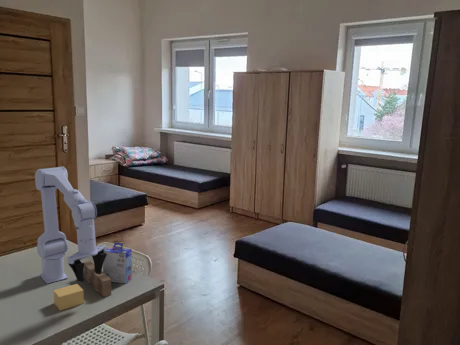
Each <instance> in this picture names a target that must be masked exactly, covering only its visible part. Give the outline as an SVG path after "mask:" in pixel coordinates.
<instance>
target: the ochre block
mask: <svg viewBox="0 0 460 345" xmlns="http://www.w3.org/2000/svg"><path fill="white" fill-rule="evenodd" d="M84 303H85V298H84V289H83V288H82V287H81V285H79V284H78V283H75V284H72V285H68V286H63V287H60V288H57V289H53V304H54V305H55V306H56V307H57V308H58V310H59V311H63V310H66V309H69V308H73V307H77V306H80V305H82V304H84Z"/></svg>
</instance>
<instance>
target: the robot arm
mask: <svg viewBox="0 0 460 345" xmlns="http://www.w3.org/2000/svg"><path fill="white" fill-rule="evenodd" d="M68 178H69V174H68V170H67V168H66V167H64V166H63V165H62V166H57V167H50V168H49V167H48V168H38V169H37V170H36V171H35V173H34V181H35V183H34V184H35V187H36V188H35V189H36V190H37V191H40V196H41V207H42V216H43V226H44V232H43V233H42V234H41V235H39V237H38V238H37V245H36V251H37V254H38V256H39V257H40V258H41V270H42V271H41V273H40V274H39V276H40V278H42V280H43V281H44V282H45V283H46V284H52V283H55V282H58V281H62V280H66V279H68V278H69V277H68V275H67V274H66V273H65V262H64V259H65V258H64V256H65V255H66V253H67V252H68V250H69V243H68V240H67V236H66V234H65V233H64V232H62V231H60V229H59V219H58V209H57V208H58V207H57V199H56V191H57V189H58V190H59V191H60V193H62V194H63V195H64V196H63V201H64V202H65V204H66V205H67V206H68V208H69V209H70V211H71V217H72V219H73V223H74V227H75V228H76V239H77V240H76V241H77V252H75V253H74V254H72V255H71V256H68V257H66V259H67V265H68V266H69V267H70V269H71V270H72V271H73V273H74V276H75V277H76V281H77V283H83V282H84V277H83V268H84V264H85V263H83V262H82V261H81V260H83V259H86V258H90V257H92V262H93V264H94V267H95V273H96V274H101V271H102V272H103V262H104V260H105V258H106V256H107V253H105V252H104V251H106V249H107V245H106V244H105V245H104V244H100V245H97V243H96V242H97V241H96V240H97V239H96V228H95V219H96V218H97V215H98V211H97V210H98V208H97V206H96V204H95V203H94V201H92V200H91V201H90V200H87V199H86V198H85V197H84V195H83V194H82V193H81V192H80V190H78V189H76V188H75V189H74V187H73V186H72V184H71V182H70V181H69V179H68Z"/></svg>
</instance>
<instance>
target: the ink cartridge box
mask: <svg viewBox="0 0 460 345" xmlns="http://www.w3.org/2000/svg"><path fill="white" fill-rule="evenodd" d="M123 245H124V243H121V242H114V244H113V247H112V246H109V247H106V251H104V252H105V253H107V256H106V258H105V260H104V262H103V266H102V272H103V273H105V274H106V275H107V276H108V277H109V278H110V279H111V283H119V284H127V283H129V281H131V280H132V279H133V273H132V272H133V263H132V262H133V260H132V259H133V257H132V255H133V254H132V251H133V250H132V249H131V248H123V247H124V246H123Z"/></svg>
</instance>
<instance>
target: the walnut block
mask: <svg viewBox="0 0 460 345" xmlns="http://www.w3.org/2000/svg"><path fill="white" fill-rule="evenodd" d="M82 263H85V264H84V268H83V279H84V280H85V281H86V282H88V284H90V285H91V286H92V287H93V288H94V290H95V291H97V293H99V295H101V296H102V298H104V297H109V296H112V282H111V279H110V278H109V277H108V276H107V275H106V274H105V273H103V270H102V271H101V274H96V273H95V267H94V262H93V261H91V260H88V261H84V262H82Z"/></svg>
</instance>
